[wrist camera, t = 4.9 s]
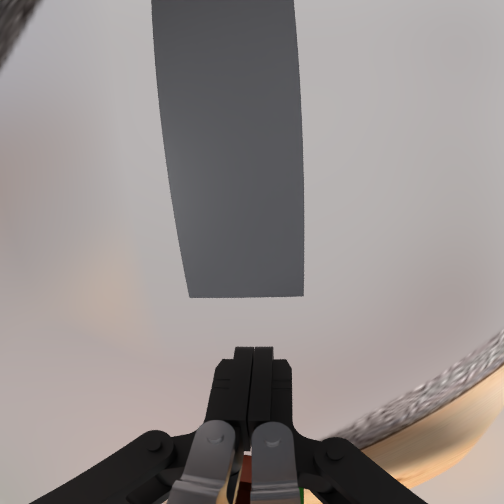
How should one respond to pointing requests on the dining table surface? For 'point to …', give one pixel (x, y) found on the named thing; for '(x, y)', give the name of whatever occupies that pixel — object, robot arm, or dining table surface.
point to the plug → (233, 143)
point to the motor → (246, 483)
